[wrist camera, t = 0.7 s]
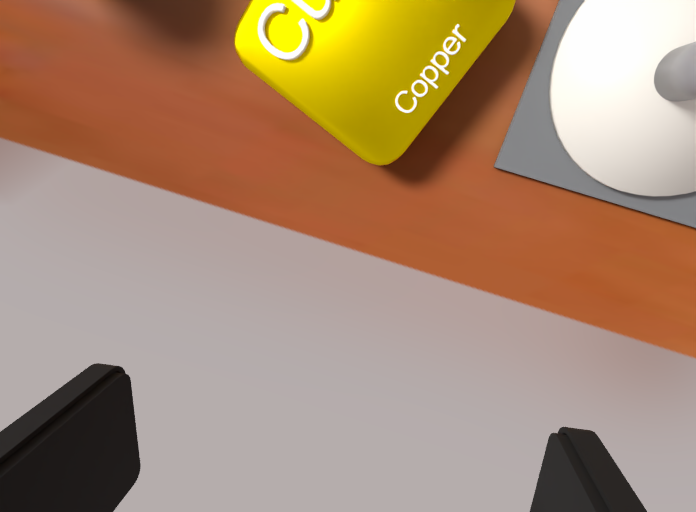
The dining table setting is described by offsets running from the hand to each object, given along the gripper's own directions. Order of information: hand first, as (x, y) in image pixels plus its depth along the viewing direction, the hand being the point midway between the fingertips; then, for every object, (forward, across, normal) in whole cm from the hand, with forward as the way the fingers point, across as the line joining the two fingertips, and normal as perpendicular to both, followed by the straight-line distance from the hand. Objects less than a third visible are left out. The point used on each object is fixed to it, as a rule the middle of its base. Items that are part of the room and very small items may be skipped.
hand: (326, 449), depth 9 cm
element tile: (+28, +2, -14) cm, 31 cm away
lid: (+27, -20, -12) cm, 35 cm away
